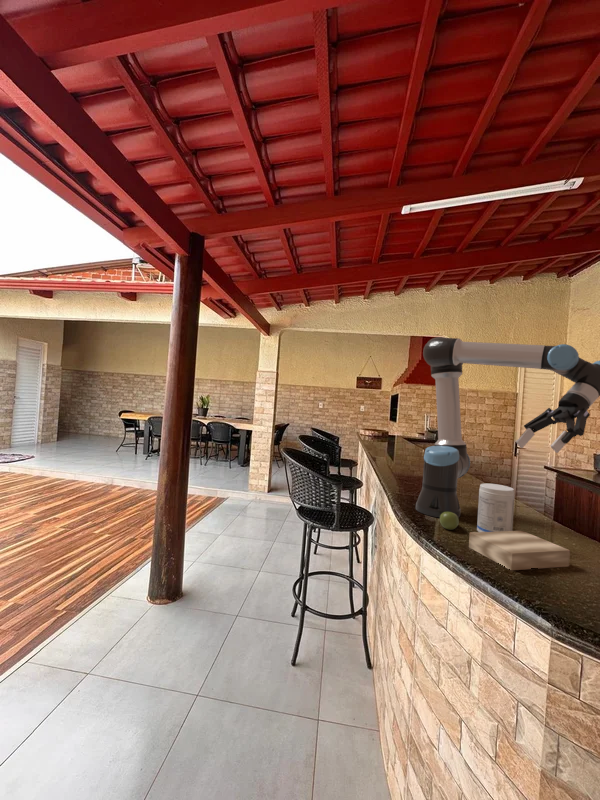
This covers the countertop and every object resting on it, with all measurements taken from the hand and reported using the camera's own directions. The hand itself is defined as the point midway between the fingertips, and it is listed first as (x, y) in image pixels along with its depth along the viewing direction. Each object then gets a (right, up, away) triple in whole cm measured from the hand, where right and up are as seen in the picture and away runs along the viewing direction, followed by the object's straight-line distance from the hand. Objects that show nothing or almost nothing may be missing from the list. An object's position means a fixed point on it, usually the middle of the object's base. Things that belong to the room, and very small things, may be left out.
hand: (535, 447), depth 116 cm
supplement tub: (-14, -27, -2) cm, 30 cm away
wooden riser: (-17, -26, -19) cm, 36 cm away
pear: (-26, -26, +3) cm, 37 cm away
